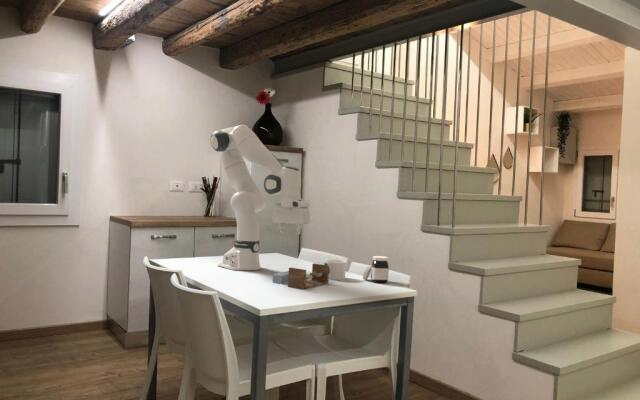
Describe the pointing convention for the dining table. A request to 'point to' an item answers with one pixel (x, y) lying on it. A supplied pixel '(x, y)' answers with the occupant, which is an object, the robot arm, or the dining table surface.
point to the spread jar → (378, 270)
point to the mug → (336, 269)
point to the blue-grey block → (281, 277)
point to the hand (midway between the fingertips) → (290, 233)
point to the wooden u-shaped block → (299, 277)
